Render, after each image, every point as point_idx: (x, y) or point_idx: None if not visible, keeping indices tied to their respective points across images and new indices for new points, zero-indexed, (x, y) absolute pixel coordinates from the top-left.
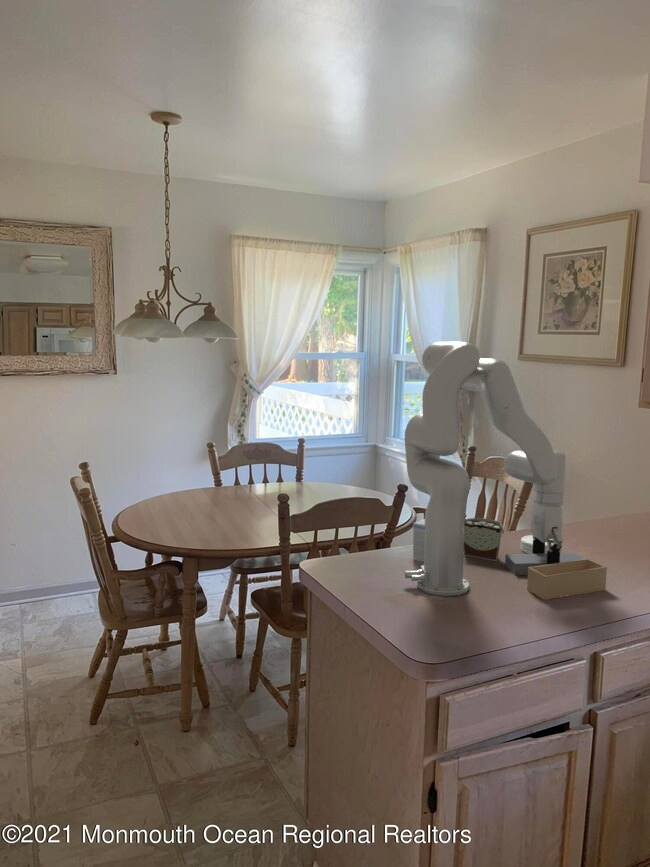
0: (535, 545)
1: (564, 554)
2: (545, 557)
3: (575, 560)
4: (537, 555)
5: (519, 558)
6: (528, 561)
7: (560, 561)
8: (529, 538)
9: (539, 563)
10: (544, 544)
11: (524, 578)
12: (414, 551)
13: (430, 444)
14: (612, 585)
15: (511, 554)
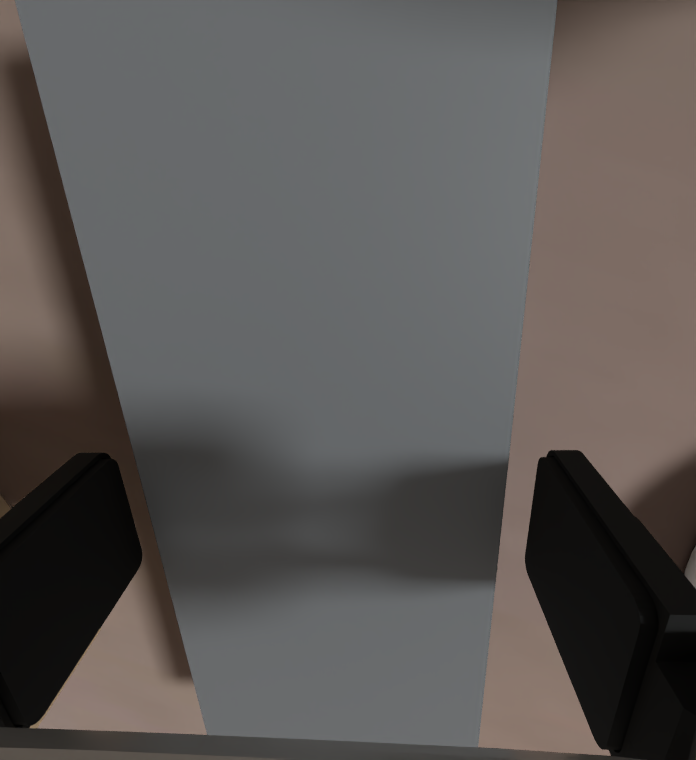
0: (590, 554)
1: (436, 714)
2: (343, 528)
3: (257, 728)
4: (425, 467)
5: (296, 152)
6: (165, 261)
7: (214, 616)
8: None
9: (120, 389)
10: (574, 679)
11: (25, 138)
12: None
13: None
14: (46, 714)
15: (524, 56)
